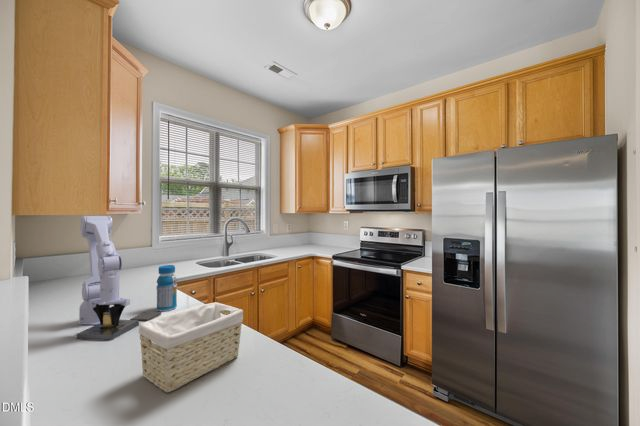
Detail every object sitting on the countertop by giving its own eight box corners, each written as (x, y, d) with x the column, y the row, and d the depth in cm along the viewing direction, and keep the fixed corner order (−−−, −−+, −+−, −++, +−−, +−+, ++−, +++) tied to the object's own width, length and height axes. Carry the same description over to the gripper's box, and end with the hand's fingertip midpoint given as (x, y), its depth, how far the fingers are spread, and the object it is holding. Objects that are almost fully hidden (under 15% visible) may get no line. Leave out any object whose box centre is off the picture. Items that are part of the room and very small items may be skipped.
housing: (76, 339, 95) (76, 333, 95) (108, 324, 108) (108, 319, 108) (111, 340, 94) (111, 334, 94) (138, 325, 107) (138, 320, 107)
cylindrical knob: (99, 334, 99) (100, 312, 99) (109, 329, 103) (109, 308, 103) (110, 334, 99) (110, 312, 99) (119, 329, 103) (119, 308, 103)
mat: (130, 320, 111) (130, 318, 111) (143, 313, 119) (143, 312, 119) (148, 321, 111) (148, 319, 111) (161, 314, 119) (161, 312, 119)
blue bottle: (161, 313, 120) (161, 268, 120) (153, 309, 125) (153, 266, 125) (180, 308, 127) (180, 265, 127) (172, 304, 132) (172, 263, 132)
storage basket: (214, 342, 92) (214, 299, 92) (246, 356, 83) (245, 308, 83) (135, 377, 72) (135, 323, 72) (165, 401, 63) (165, 338, 63)
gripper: (81, 290, 97) (81, 328, 97) (119, 291, 96) (119, 329, 96) (98, 285, 104) (98, 320, 104) (134, 286, 104) (134, 321, 103)
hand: (109, 324), depth 101 cm, fingers closed on cylindrical knob, 4 cm apart
